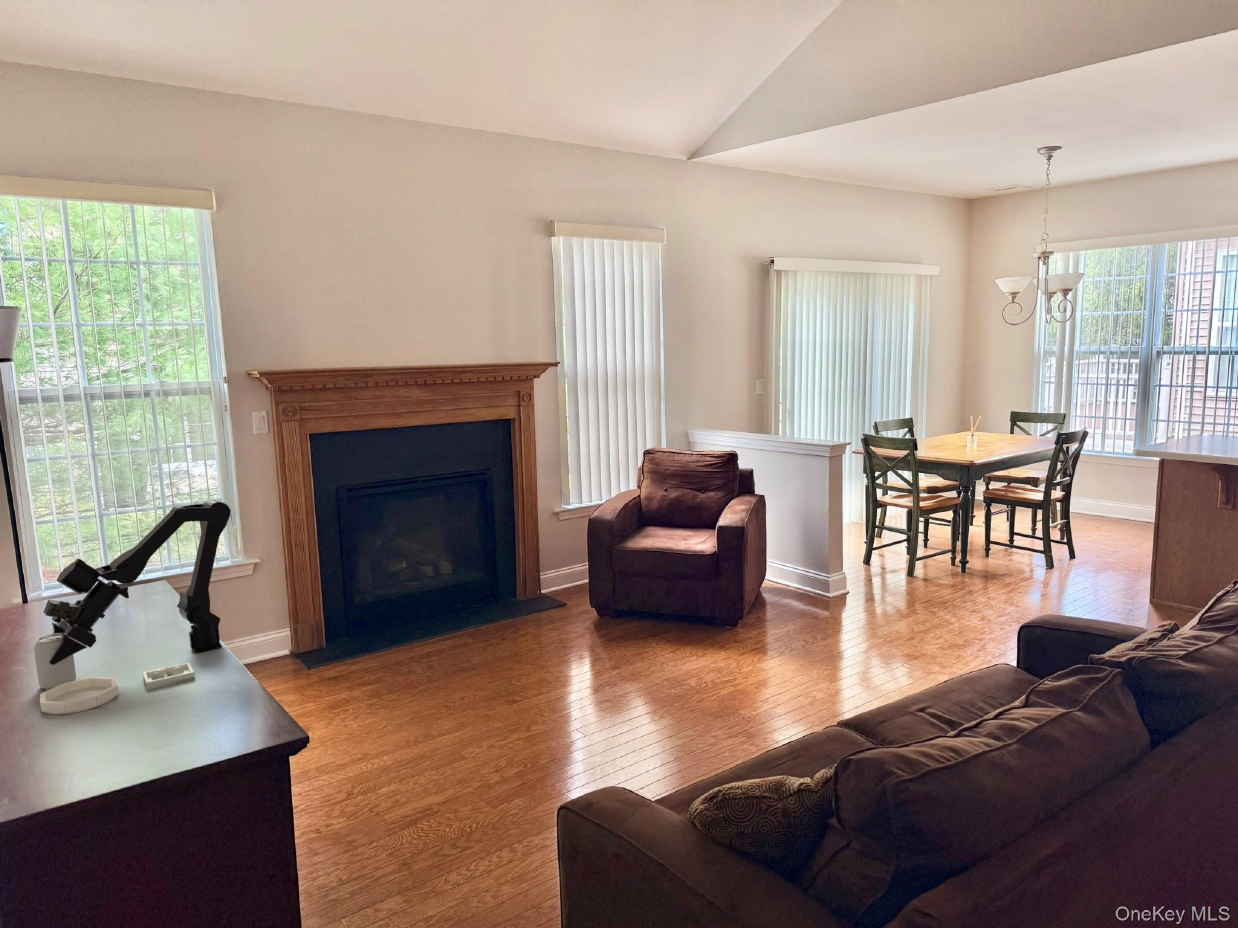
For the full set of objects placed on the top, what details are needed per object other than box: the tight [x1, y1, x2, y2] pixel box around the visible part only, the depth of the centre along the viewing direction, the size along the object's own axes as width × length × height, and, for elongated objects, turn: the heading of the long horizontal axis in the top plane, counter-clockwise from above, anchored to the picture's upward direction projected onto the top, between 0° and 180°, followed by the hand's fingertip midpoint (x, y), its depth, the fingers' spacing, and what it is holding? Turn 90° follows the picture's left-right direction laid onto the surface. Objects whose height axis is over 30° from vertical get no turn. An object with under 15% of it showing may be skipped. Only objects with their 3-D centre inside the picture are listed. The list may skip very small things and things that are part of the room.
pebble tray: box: [142, 662, 196, 691], centre depth 201 cm, size 10×8×2 cm
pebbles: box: [152, 665, 184, 680], centre depth 200 cm, size 7×5×2 cm
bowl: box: [39, 676, 119, 716], centre depth 190 cm, size 15×15×3 cm
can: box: [33, 633, 77, 691], centre depth 199 cm, size 8×8×12 cm
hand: (47, 659), depth 198 cm, fingers closed on can, 7 cm apart
